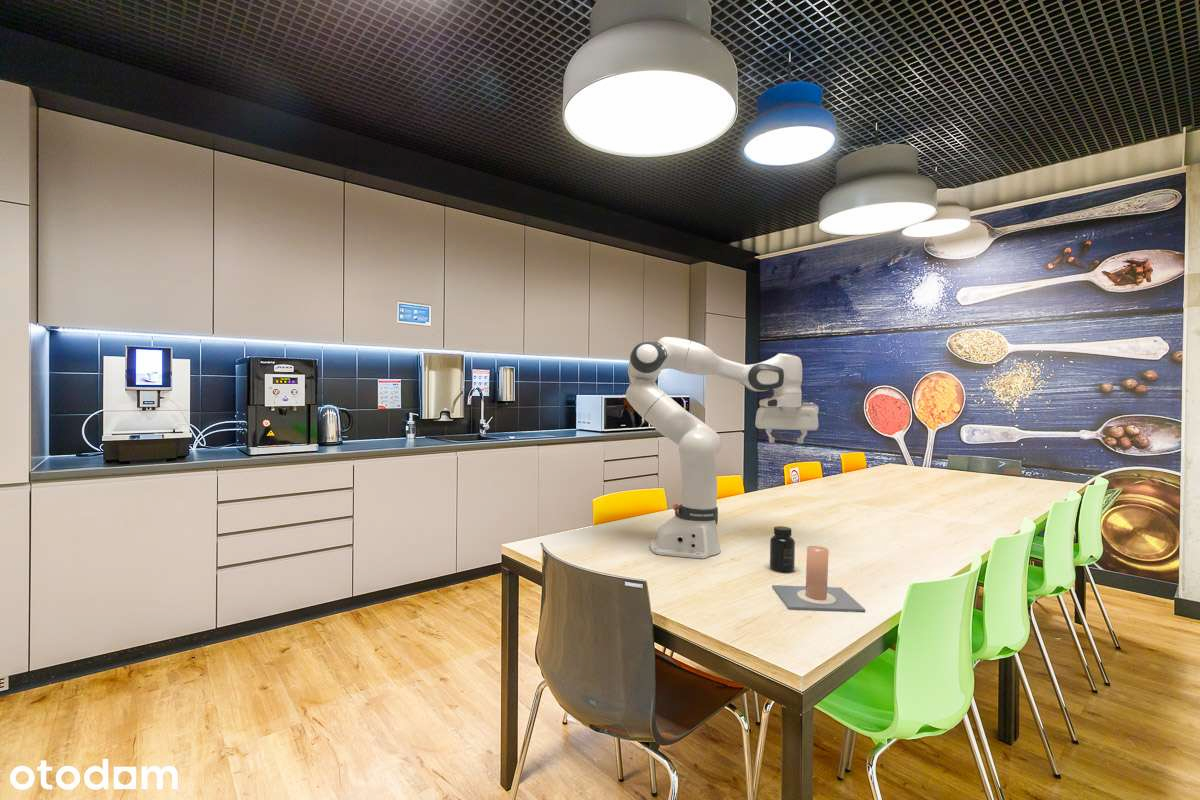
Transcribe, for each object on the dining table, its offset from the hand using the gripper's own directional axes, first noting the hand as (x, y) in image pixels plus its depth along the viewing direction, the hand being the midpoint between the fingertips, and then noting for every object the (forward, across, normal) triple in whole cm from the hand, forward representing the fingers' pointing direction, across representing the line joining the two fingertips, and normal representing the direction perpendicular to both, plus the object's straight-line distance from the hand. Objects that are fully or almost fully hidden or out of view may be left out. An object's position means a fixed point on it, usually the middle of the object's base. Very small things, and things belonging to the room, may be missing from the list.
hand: (785, 443), depth 184 cm
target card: (+34, +6, +48) cm, 59 cm away
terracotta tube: (+33, +6, +48) cm, 59 cm away
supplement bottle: (+34, +8, +26) cm, 44 cm away
